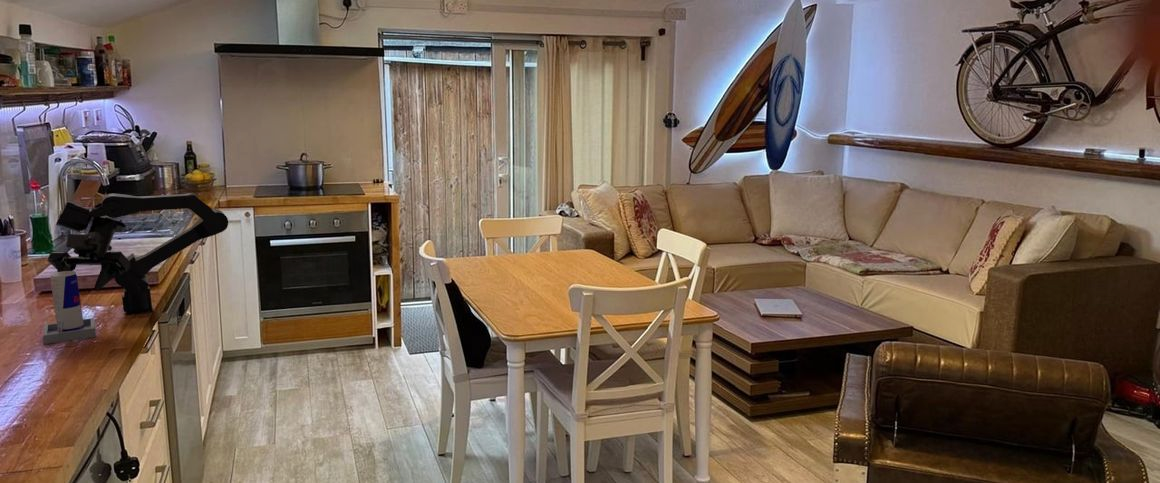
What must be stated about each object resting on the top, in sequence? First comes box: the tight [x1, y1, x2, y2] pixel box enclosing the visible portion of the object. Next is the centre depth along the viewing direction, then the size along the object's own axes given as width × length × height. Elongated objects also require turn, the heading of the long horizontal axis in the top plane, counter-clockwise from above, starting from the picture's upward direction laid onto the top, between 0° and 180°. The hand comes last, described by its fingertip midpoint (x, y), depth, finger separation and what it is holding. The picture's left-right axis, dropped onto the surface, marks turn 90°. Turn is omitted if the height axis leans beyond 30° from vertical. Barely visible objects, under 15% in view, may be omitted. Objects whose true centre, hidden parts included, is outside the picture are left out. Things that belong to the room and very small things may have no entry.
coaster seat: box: [42, 317, 97, 345], centre depth 208 cm, size 11×11×2 cm
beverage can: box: [50, 270, 84, 333], centre depth 207 cm, size 6×6×15 cm
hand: (77, 290), depth 211 cm, fingers open, 9 cm apart
